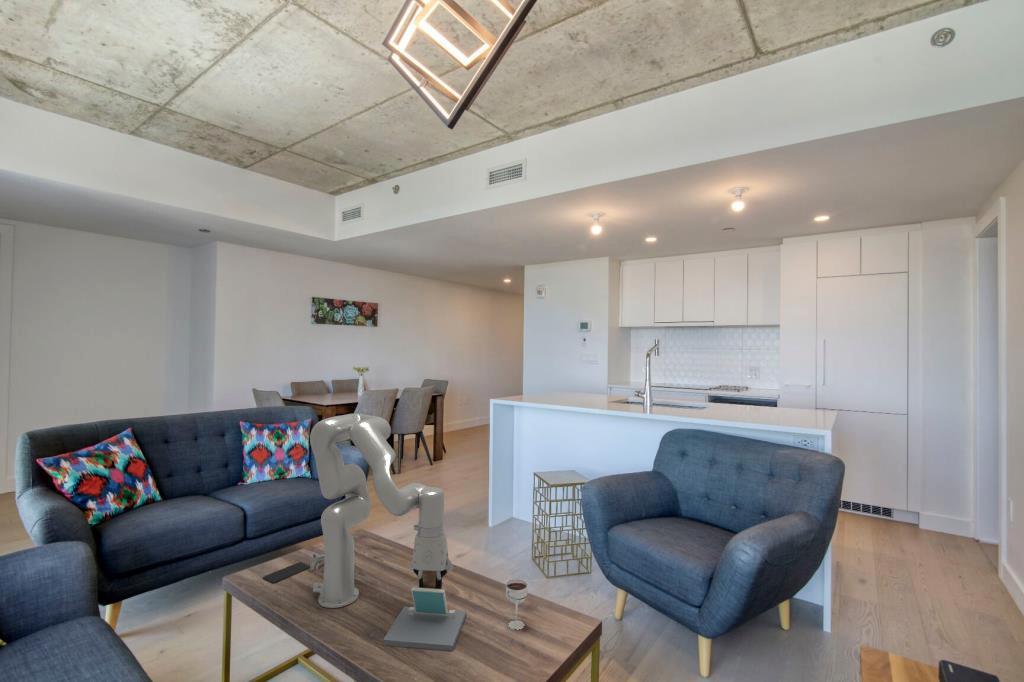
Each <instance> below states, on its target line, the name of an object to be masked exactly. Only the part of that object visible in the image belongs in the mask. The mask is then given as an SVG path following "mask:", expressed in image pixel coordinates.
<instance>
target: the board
mask: <svg viewBox="0 0 1024 682" xmlns="http://www.w3.org/2000/svg"><path fill="white" fill-rule="evenodd" d="M447 610H448V614H447V615H441V614H428V613H415V608H414V606H403V608H402V609H401V611H400V612H399V614H398V616H397V617H396V618H395V620H394V622H393V623H392V625H391V627H390V628H389V630H388V631H387V633H386V635H385V636H384V638H383V639H382V645H383V646H389V647H390V646H391V647H399V648H412V649H422V650H423V649H424V650H436V651H444V652H445V651H447V652H453V651H454V649H455V647H456V644H457V641H458V638H459V636H460V633H461V630H462V628H463V625H464V623H465V620H466V618H467V611H466V610H455V609H447Z"/></svg>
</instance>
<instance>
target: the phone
mask: <svg viewBox="0 0 1024 682" xmlns="http://www.w3.org/2000/svg"><path fill="white" fill-rule="evenodd" d="M307 570H310V564H306V563H304V562H302V561H301V562H296V563H294V564H291V565H289V566H286V567H283V568H281V569H278V570H276V571H274V572H272V573H269V574H267V575H264V576H263V577H262V579H263V580H264V581H266V582H267V583H270V584H277V583H280V582H281V581H284V580H286V579H289V578H291V577H293V576H295V575H298V574H300V573H303V572H305V571H307Z"/></svg>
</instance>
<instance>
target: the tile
mask: <svg viewBox="0 0 1024 682" xmlns="http://www.w3.org/2000/svg"><path fill="white" fill-rule="evenodd" d="M410 591H411V596H412V597H411V598H412V601H413V603H412V604H413V607H414V608H415V613H428V614H441V615H447V614H448V610H449V609H448V604H447V597H446V596H447V595H446V589H442V588H441V589H431V588H419V587H414V586H413V587H411V589H410Z"/></svg>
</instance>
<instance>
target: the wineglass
mask: <svg viewBox="0 0 1024 682" xmlns="http://www.w3.org/2000/svg"><path fill="white" fill-rule="evenodd" d="M528 586H529V585H528V582H526V581H524V580H522V579H511V580H508V581H507V582H505V587H506V589H505V597H506V599H507V600H508V601H510V603H512V604H514V606H515V610H514V612H515V620H514V619H513V620H514V621H513V620H511V621H509V622H510V623H509V622H508V623H507V626H508V628H509V627H510V628H509V629H511V630H514V629H517V630H516V631H518V630H519V629H520V630H522V629H523V628H524V627H525V623H524V622H523V621H522V620H519V619H518V608H519V605H520V604H522V603H523V602H524V601H526V599H527V597H528V594H529V592H528ZM518 620H519V621H518ZM521 621H522V622H521ZM523 623H524V624H523ZM508 624H509V625H508ZM523 626H524V627H523ZM520 630H519V631H520Z"/></svg>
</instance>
